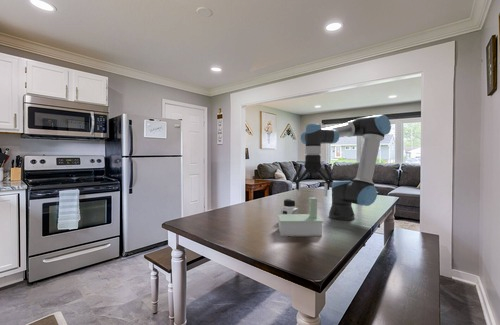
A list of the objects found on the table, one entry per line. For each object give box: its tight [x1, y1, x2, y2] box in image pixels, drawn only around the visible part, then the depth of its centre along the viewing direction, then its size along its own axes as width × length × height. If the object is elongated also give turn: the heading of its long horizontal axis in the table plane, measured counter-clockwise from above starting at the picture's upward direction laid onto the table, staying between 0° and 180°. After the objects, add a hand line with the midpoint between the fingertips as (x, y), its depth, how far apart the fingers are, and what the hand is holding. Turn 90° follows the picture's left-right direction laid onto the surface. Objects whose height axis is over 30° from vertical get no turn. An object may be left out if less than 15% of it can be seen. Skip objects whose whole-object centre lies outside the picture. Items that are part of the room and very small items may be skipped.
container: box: [280, 198, 299, 214], centre depth 146 cm, size 8×8×13 cm
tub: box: [278, 220, 323, 238], centre depth 125 cm, size 20×12×7 cm, turn 89°
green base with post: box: [277, 196, 324, 224], centre depth 125 cm, size 21×13×11 cm, turn 89°
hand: (312, 196), depth 124 cm, fingers open, 13 cm apart
